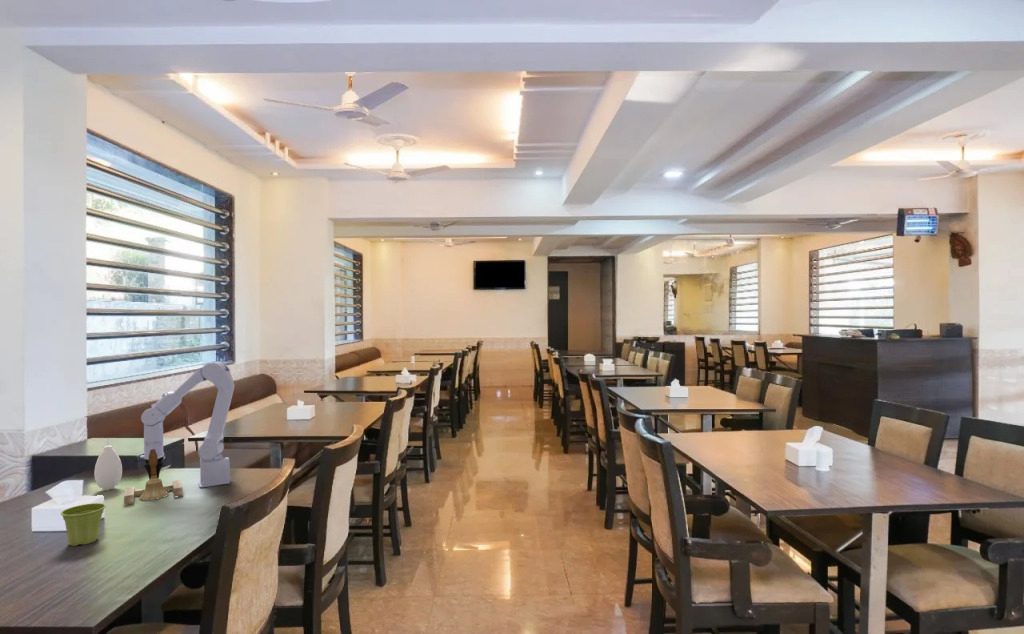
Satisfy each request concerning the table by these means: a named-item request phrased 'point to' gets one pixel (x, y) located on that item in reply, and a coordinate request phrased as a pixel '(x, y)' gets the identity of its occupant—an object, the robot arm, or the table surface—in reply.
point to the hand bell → (153, 481)
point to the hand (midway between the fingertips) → (154, 480)
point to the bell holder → (131, 491)
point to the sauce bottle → (108, 468)
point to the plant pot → (83, 523)
